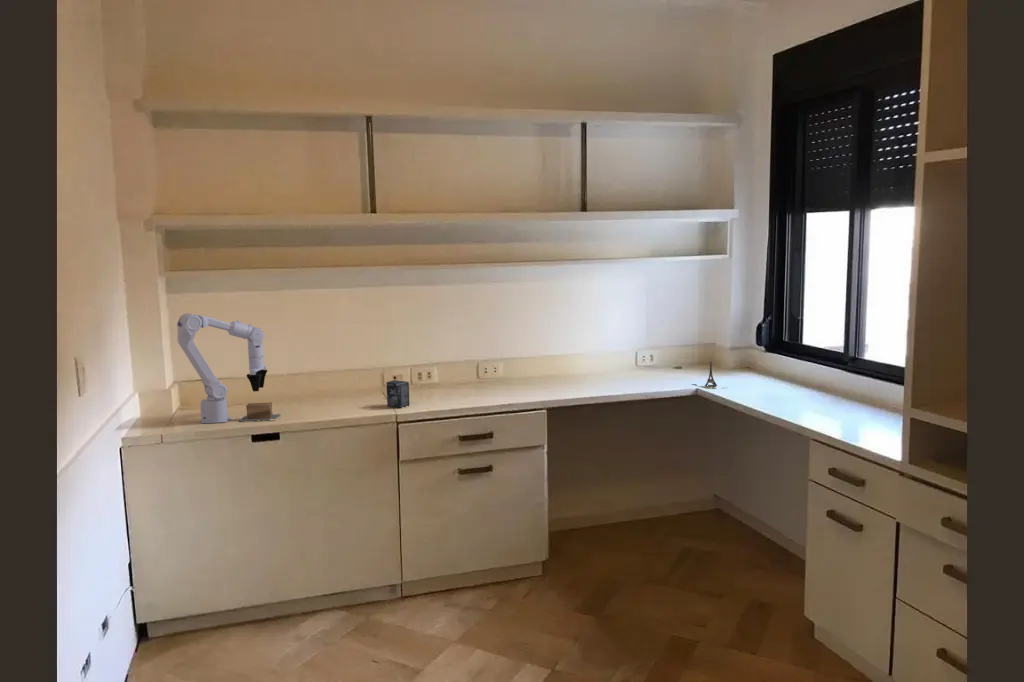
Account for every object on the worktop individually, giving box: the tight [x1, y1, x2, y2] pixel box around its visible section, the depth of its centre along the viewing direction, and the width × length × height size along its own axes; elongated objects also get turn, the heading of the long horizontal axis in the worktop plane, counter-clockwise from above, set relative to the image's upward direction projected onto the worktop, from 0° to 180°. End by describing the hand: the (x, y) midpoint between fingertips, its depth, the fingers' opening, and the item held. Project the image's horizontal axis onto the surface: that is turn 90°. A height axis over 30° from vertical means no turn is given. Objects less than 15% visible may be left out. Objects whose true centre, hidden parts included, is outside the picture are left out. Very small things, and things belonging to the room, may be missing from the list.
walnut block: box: [245, 401, 273, 419], centre depth 304 cm, size 4×9×6 cm, turn 95°
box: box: [386, 379, 411, 409], centre depth 320 cm, size 8×6×11 cm
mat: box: [238, 413, 281, 423], centre depth 304 cm, size 14×9×1 cm, turn 94°
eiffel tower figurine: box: [691, 360, 724, 390], centre depth 347 cm, size 15×10×13 cm
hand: (258, 389), depth 310 cm, fingers open, 7 cm apart
